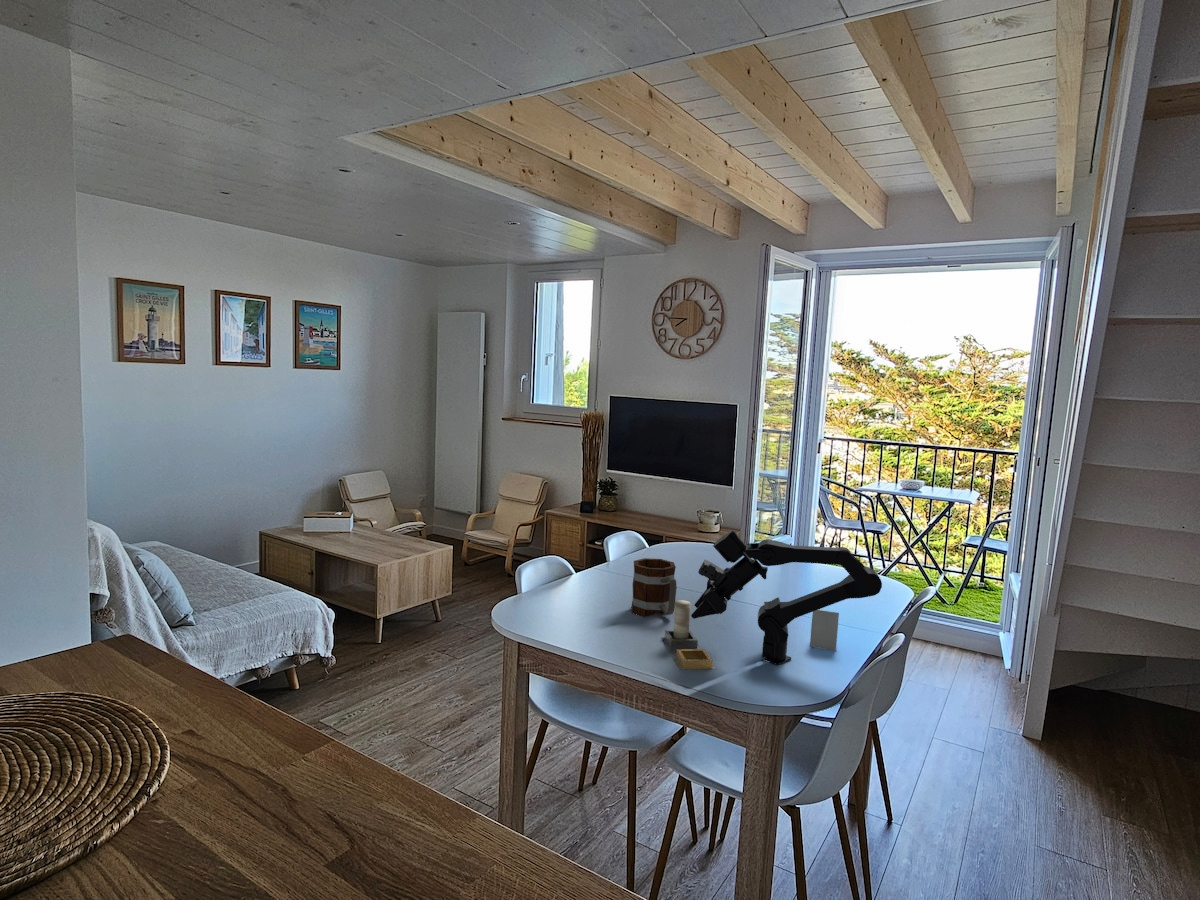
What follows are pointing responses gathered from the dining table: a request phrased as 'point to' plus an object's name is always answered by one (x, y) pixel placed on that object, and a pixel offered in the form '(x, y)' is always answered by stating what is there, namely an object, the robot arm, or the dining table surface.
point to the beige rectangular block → (824, 629)
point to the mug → (653, 587)
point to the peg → (681, 619)
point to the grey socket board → (687, 652)
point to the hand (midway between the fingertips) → (693, 611)
